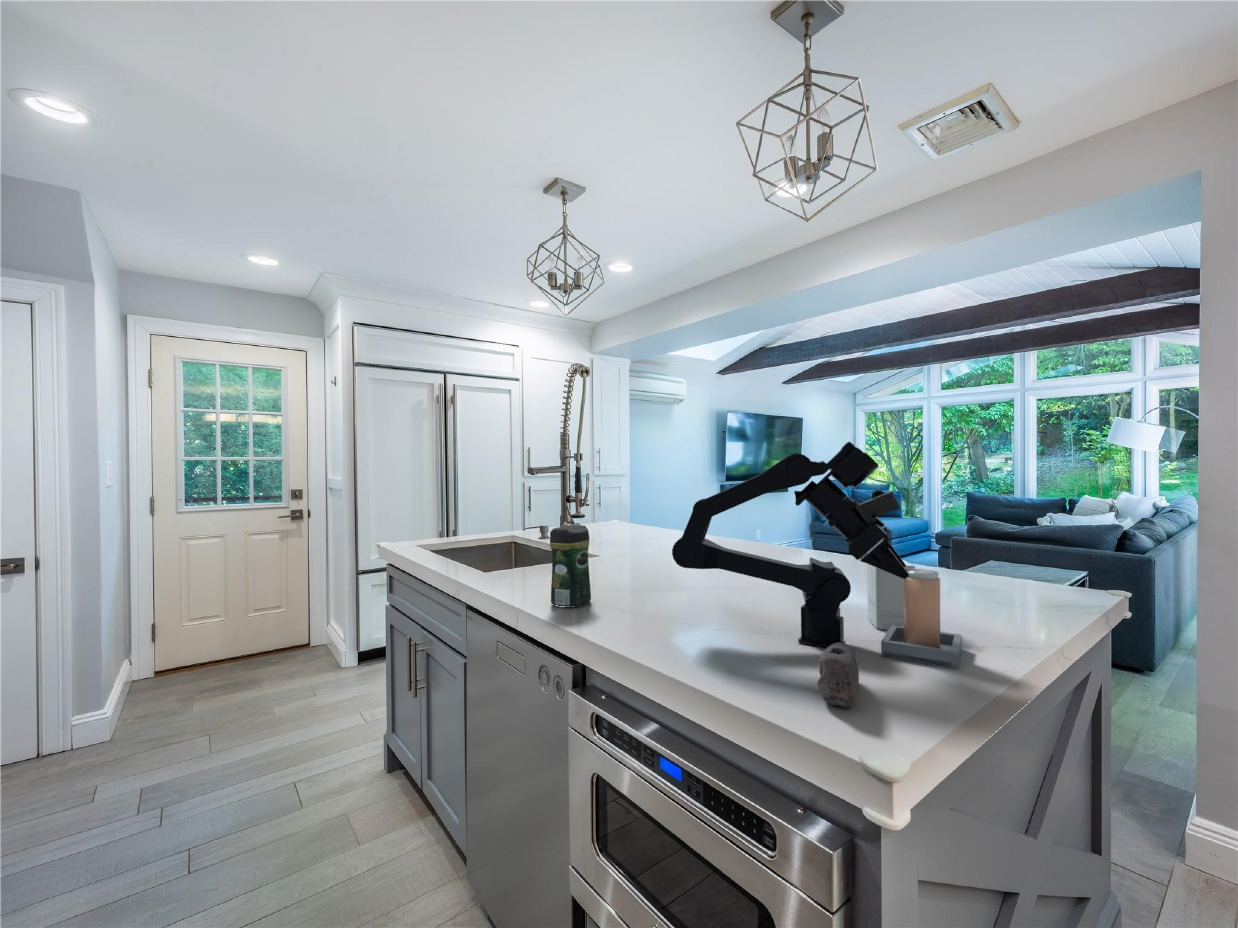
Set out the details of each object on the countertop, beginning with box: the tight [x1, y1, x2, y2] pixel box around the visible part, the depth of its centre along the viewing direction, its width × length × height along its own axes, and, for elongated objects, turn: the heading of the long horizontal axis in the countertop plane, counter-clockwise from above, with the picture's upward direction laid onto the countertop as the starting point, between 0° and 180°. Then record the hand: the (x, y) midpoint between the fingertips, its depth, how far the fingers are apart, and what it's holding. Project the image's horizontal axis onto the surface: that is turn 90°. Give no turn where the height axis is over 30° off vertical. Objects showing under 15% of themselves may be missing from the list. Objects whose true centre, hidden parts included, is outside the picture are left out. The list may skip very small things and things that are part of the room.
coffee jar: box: [549, 524, 592, 607], centre depth 132 cm, size 10×8×19 cm
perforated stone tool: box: [817, 642, 860, 708], centre depth 79 cm, size 15×5×7 cm, turn 154°
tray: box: [880, 625, 963, 670], centre depth 95 cm, size 11×11×2 cm
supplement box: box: [866, 559, 916, 631], centre depth 112 cm, size 7×7×13 cm
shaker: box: [904, 568, 941, 648], centre depth 95 cm, size 6×6×13 cm
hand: (905, 572), depth 96 cm, fingers open, 9 cm apart
